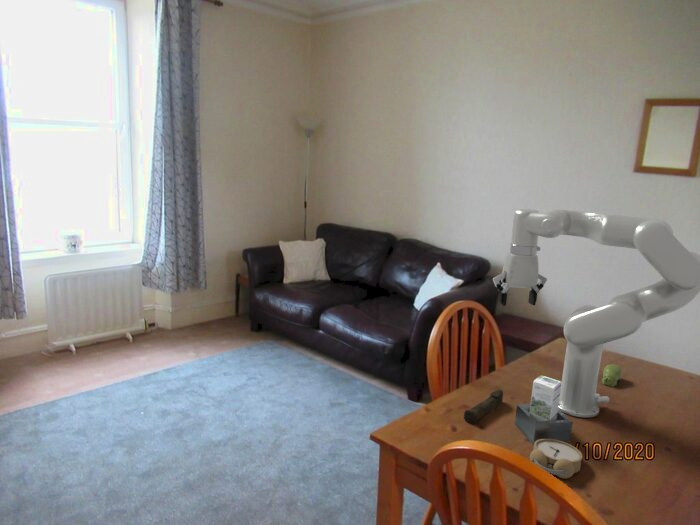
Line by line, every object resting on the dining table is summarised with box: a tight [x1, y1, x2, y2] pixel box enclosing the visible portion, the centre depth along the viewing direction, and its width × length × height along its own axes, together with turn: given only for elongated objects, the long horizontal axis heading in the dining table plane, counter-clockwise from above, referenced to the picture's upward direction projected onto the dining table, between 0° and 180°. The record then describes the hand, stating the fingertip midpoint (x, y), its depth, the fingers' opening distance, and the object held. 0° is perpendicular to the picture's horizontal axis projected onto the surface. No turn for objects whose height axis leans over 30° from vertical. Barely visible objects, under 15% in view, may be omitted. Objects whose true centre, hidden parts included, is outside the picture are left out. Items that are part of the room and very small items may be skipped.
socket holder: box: [514, 403, 574, 446], centre depth 140 cm, size 10×10×6 cm
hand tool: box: [463, 389, 504, 425], centre depth 151 cm, size 19×4×5 cm, turn 134°
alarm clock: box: [529, 439, 583, 480], centre depth 127 cm, size 11×5×15 cm
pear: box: [601, 363, 623, 388], centre depth 175 cm, size 6×5×10 cm
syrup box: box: [530, 374, 562, 421], centre depth 139 cm, size 6×6×14 cm
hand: (517, 304), depth 161 cm, fingers open, 9 cm apart
